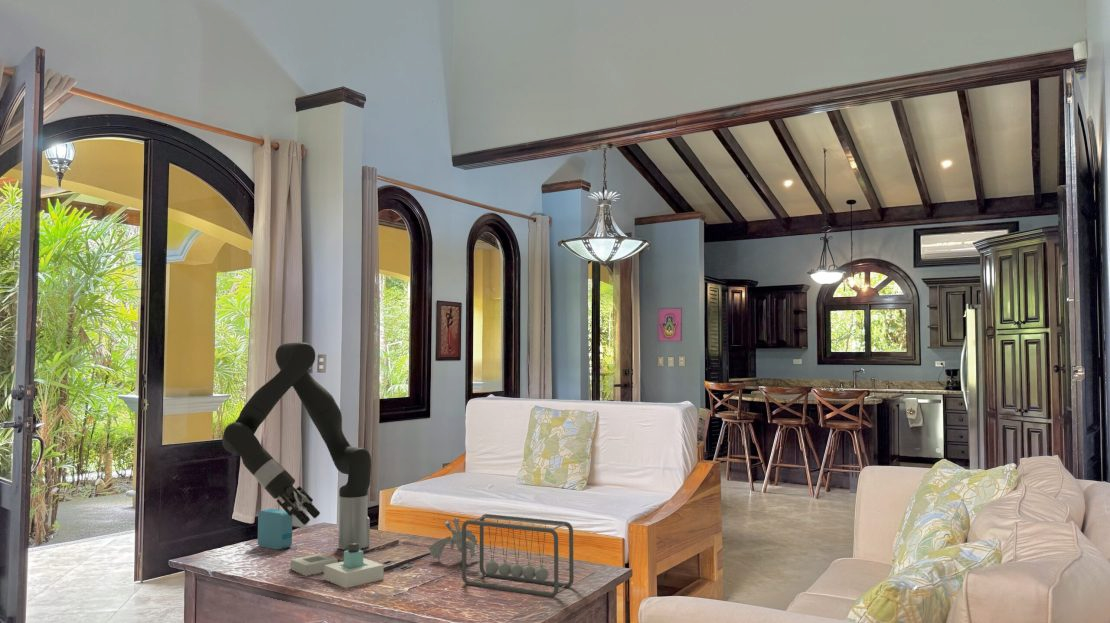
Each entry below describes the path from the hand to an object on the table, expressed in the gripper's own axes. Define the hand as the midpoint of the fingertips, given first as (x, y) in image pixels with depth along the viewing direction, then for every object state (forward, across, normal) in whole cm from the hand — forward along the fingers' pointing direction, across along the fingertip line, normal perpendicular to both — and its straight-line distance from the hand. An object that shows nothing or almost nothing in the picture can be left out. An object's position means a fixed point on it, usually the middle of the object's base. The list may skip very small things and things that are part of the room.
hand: (312, 519), depth 218 cm
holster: (+10, +10, +14) cm, 20 cm away
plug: (+21, -1, +3) cm, 21 cm away
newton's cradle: (+54, -7, -31) cm, 62 cm away
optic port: (+21, -1, +3) cm, 21 cm away
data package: (-5, +38, +31) cm, 49 cm away
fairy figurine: (+40, +19, -16) cm, 47 cm away
